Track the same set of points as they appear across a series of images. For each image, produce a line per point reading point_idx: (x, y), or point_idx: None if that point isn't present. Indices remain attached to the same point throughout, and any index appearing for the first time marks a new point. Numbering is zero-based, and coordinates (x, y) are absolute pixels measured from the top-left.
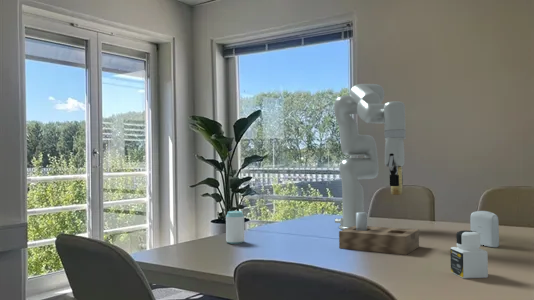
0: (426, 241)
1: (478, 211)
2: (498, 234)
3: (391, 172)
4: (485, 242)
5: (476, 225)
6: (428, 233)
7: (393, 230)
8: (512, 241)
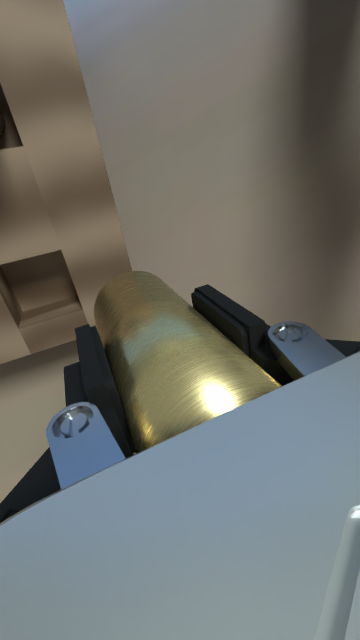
0: (215, 271)
1: None
2: None
3: (35, 483)
4: None
5: None
6: (335, 209)
7: (64, 257)
8: None
